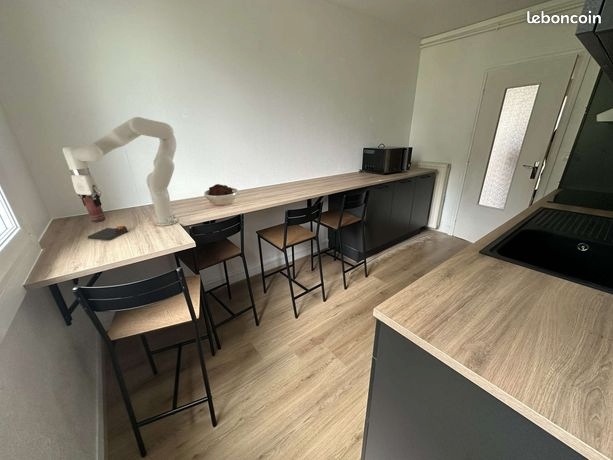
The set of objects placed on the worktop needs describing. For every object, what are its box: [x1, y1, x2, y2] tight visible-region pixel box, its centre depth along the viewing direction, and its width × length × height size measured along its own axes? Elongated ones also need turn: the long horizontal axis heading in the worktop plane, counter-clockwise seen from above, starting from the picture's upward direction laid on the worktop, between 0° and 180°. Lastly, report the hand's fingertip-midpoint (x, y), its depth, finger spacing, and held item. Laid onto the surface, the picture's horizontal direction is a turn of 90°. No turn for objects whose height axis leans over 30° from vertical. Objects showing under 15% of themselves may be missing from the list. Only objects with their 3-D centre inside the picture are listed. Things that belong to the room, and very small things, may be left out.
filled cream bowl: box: [203, 183, 239, 206], centre depth 192 cm, size 25×25×15 cm
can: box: [83, 194, 106, 224], centre depth 136 cm, size 6×6×14 cm
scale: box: [87, 225, 128, 241], centre depth 142 cm, size 15×13×3 cm
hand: (93, 205), depth 135 cm, fingers closed on can, 6 cm apart
